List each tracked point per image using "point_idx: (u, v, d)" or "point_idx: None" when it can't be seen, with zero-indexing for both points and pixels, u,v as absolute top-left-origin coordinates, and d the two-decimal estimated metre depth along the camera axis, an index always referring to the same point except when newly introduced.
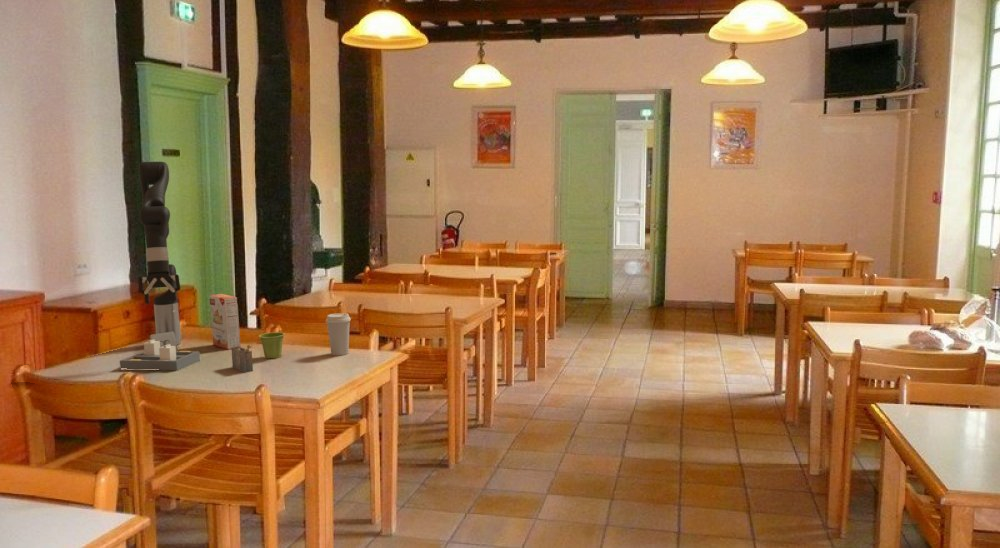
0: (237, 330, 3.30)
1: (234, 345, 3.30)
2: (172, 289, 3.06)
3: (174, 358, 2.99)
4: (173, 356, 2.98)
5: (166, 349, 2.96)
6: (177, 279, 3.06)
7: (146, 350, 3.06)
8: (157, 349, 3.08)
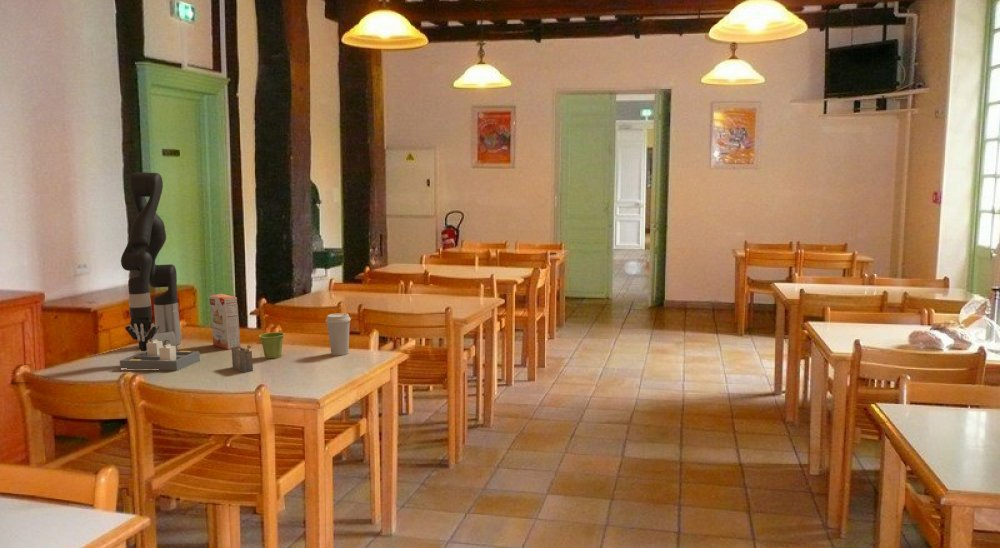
0: (237, 330, 3.30)
1: (234, 345, 3.30)
2: (143, 338, 3.06)
3: (174, 358, 2.99)
4: (173, 356, 2.98)
5: (166, 349, 2.96)
6: (152, 331, 3.06)
7: (149, 350, 3.06)
8: None
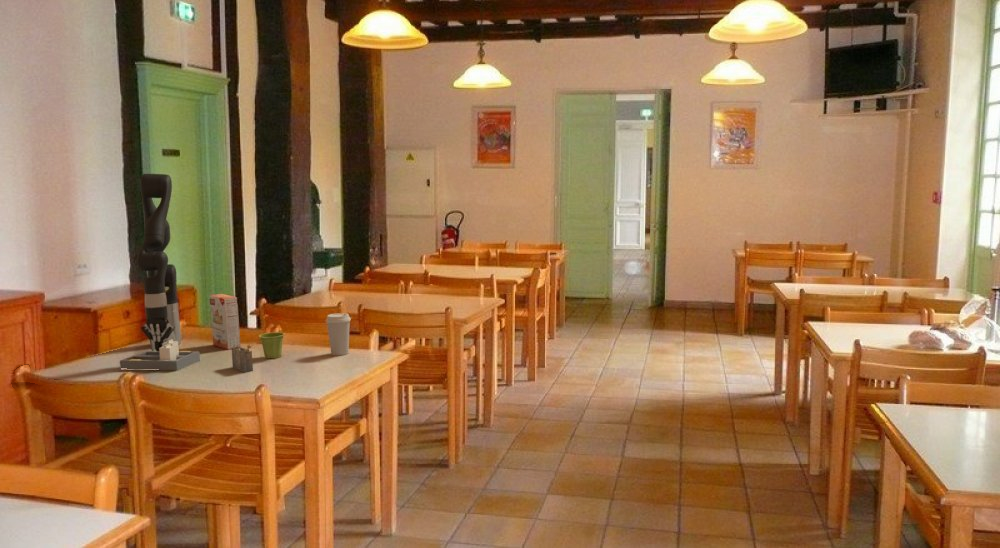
0: (237, 330, 3.30)
1: (234, 345, 3.30)
2: (159, 338, 3.05)
3: (174, 358, 2.99)
4: (173, 356, 2.98)
5: (166, 349, 2.96)
6: (168, 331, 3.05)
7: None
8: None
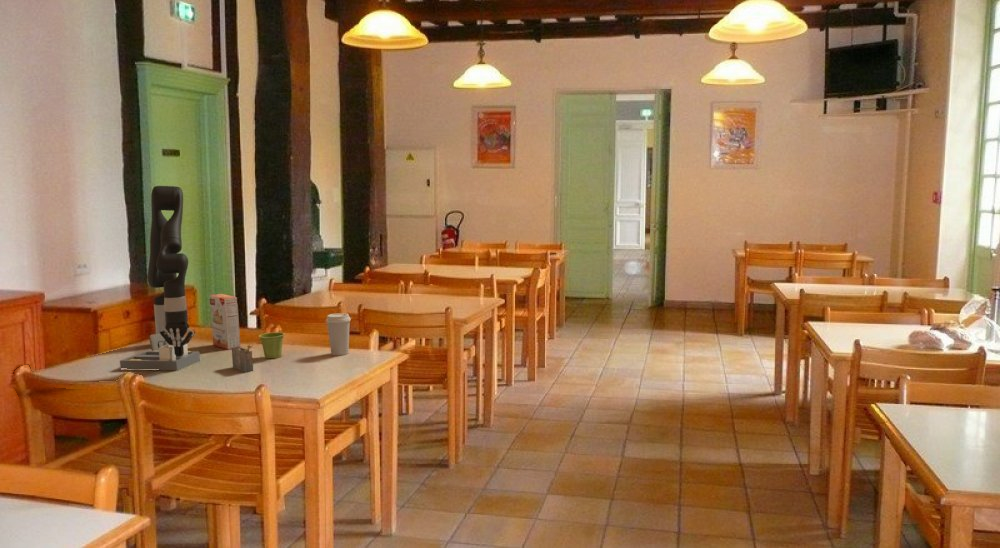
0: (237, 330, 3.30)
1: (234, 345, 3.30)
2: (179, 343, 2.96)
3: (174, 358, 2.99)
4: (172, 356, 2.98)
5: (166, 349, 2.96)
6: (188, 336, 2.95)
7: None
8: (184, 349, 3.06)
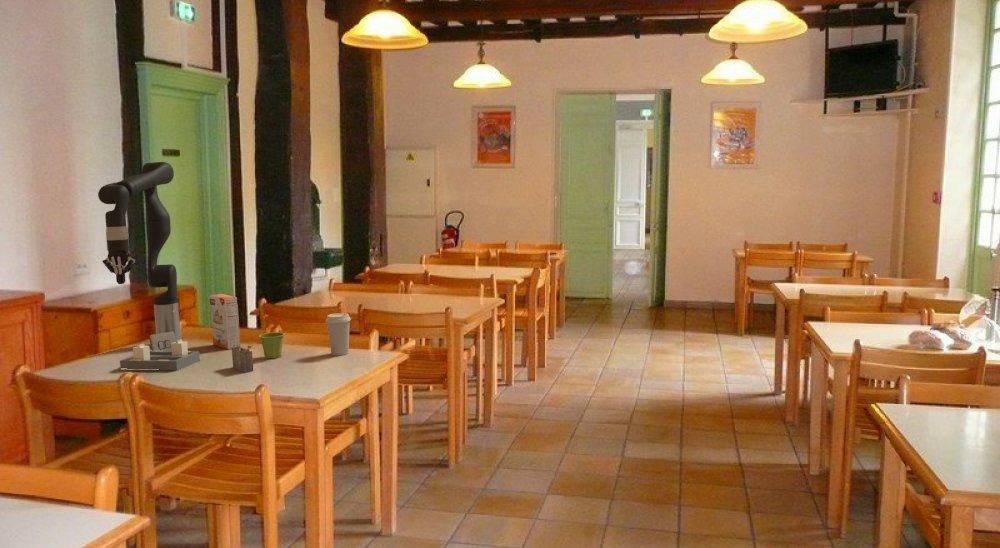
0: (237, 330, 3.30)
1: (234, 345, 3.30)
2: (120, 271, 3.11)
3: (148, 358, 3.01)
4: (146, 356, 3.00)
5: (139, 349, 2.98)
6: (129, 264, 3.10)
7: (174, 350, 3.04)
8: (184, 349, 3.06)
